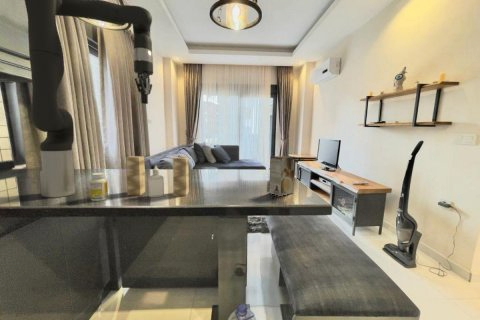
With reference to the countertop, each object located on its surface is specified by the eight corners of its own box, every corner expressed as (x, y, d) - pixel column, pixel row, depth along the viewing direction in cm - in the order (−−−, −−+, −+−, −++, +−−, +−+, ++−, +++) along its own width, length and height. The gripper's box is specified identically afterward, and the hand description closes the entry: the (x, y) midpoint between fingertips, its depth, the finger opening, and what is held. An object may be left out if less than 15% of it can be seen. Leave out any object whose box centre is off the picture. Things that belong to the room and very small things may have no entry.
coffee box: (282, 190, 100) (283, 155, 98) (293, 193, 95) (296, 156, 93) (268, 193, 94) (270, 156, 92) (280, 197, 89) (282, 158, 87)
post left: (127, 195, 87) (125, 157, 85) (133, 191, 92) (131, 156, 90) (140, 195, 87) (139, 157, 85) (145, 191, 92) (144, 156, 90)
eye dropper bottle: (160, 198, 84) (159, 167, 83) (146, 197, 85) (145, 166, 83) (165, 194, 88) (165, 165, 87) (152, 193, 89) (152, 164, 88)
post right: (173, 195, 87) (172, 158, 86) (176, 192, 92) (176, 156, 90) (186, 195, 88) (185, 158, 86) (188, 192, 93) (188, 157, 91)
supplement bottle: (96, 202, 78) (94, 175, 76) (88, 199, 80) (86, 173, 79) (111, 198, 82) (110, 173, 81) (103, 196, 85) (101, 171, 84)
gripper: (141, 66, 100) (142, 105, 102) (126, 56, 87) (128, 101, 89) (157, 66, 100) (158, 105, 102) (146, 57, 87) (147, 102, 89)
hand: (144, 103), depth 95 cm, fingers closed
